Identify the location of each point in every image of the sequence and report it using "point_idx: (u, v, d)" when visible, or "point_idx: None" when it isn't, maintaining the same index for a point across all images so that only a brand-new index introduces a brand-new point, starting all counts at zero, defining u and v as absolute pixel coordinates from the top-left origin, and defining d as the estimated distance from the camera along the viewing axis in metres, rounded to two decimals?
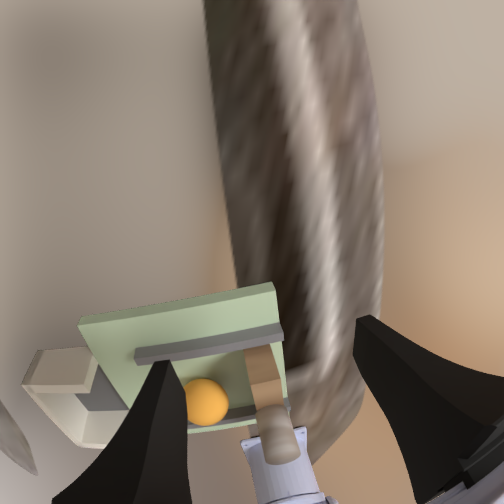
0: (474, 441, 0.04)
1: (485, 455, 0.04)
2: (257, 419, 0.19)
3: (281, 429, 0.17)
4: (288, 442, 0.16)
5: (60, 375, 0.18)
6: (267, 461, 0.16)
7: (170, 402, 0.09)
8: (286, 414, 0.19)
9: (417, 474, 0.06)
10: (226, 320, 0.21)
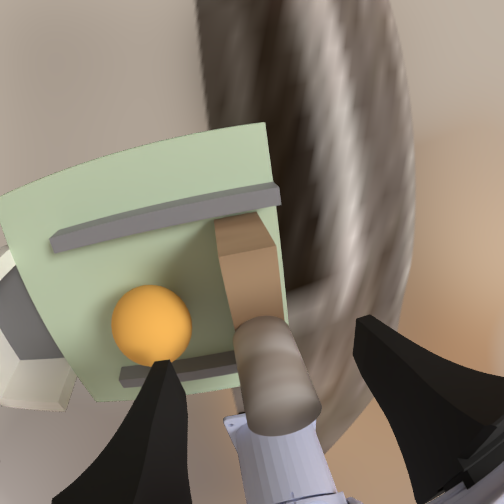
0: (475, 440, 0.04)
1: (485, 455, 0.04)
2: (235, 345, 0.11)
3: (280, 355, 0.09)
4: (295, 380, 0.08)
5: None
6: (252, 425, 0.08)
7: (170, 402, 0.09)
8: (289, 334, 0.11)
9: (417, 474, 0.06)
10: (189, 172, 0.13)
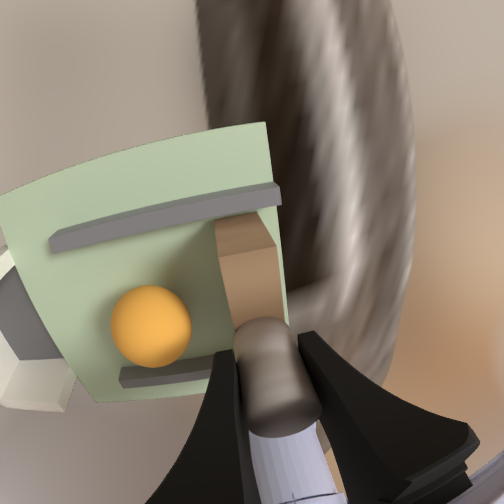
0: (390, 489, 0.04)
1: (415, 500, 0.04)
2: (235, 346, 0.11)
3: (280, 356, 0.09)
4: (296, 382, 0.08)
5: None
6: (252, 427, 0.08)
7: (238, 392, 0.09)
8: (290, 335, 0.11)
9: (353, 502, 0.06)
10: (188, 171, 0.13)
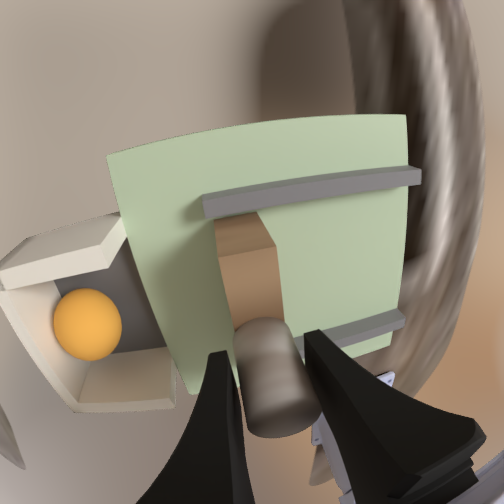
0: (400, 485, 0.04)
1: (423, 496, 0.04)
2: (235, 346, 0.11)
3: (280, 356, 0.09)
4: (296, 382, 0.08)
5: (57, 246, 0.11)
6: (251, 427, 0.08)
7: (232, 393, 0.09)
8: (289, 335, 0.11)
9: (360, 500, 0.06)
10: (349, 148, 0.13)
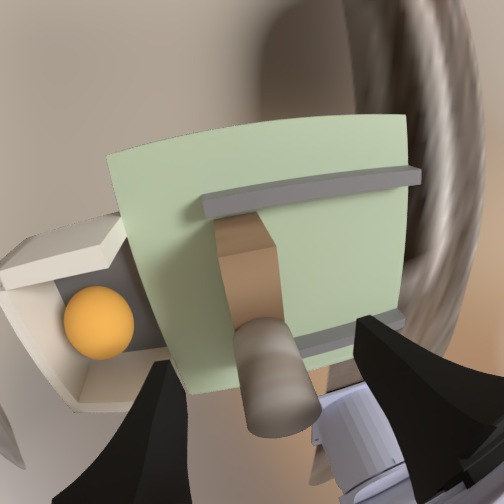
0: (475, 440, 0.04)
1: (485, 455, 0.04)
2: (235, 346, 0.11)
3: (280, 356, 0.09)
4: (296, 382, 0.08)
5: (57, 246, 0.11)
6: (251, 427, 0.08)
7: (170, 402, 0.09)
8: (289, 335, 0.11)
9: (417, 474, 0.06)
10: (349, 148, 0.13)
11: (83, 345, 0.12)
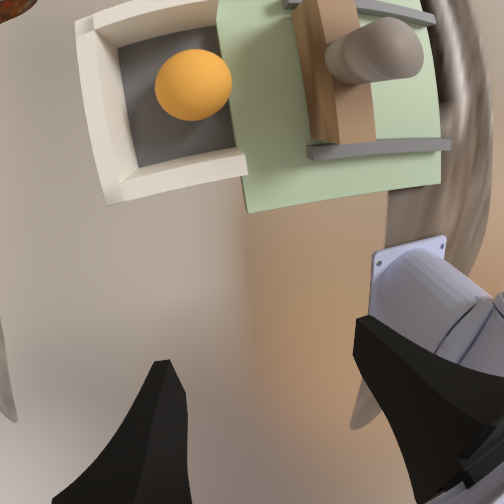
0: (474, 440, 0.04)
1: (485, 455, 0.04)
2: (330, 49, 0.10)
3: None
4: None
5: None
6: (373, 44, 0.07)
7: (170, 402, 0.09)
8: None
9: (418, 474, 0.06)
10: None
11: (208, 74, 0.12)
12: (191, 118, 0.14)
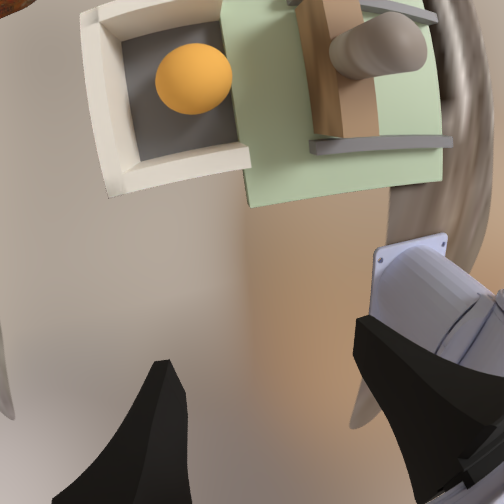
0: (475, 440, 0.04)
1: (485, 455, 0.04)
2: (335, 43, 0.10)
3: None
4: None
5: None
6: (378, 37, 0.07)
7: (170, 402, 0.09)
8: None
9: (417, 474, 0.06)
10: None
11: (205, 68, 0.12)
12: (190, 112, 0.13)
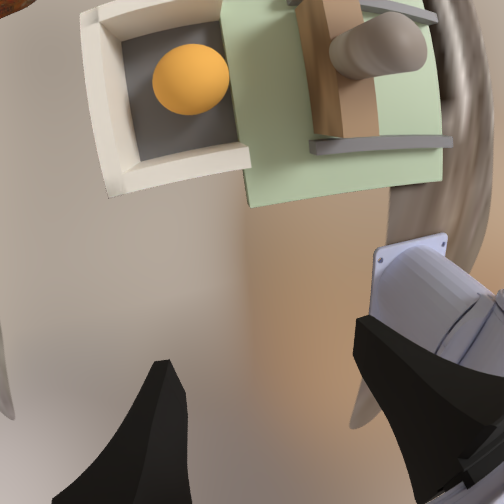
0: (475, 440, 0.04)
1: (485, 455, 0.04)
2: (335, 43, 0.10)
3: None
4: None
5: None
6: (378, 37, 0.07)
7: (170, 402, 0.09)
8: None
9: (417, 474, 0.06)
10: None
11: (199, 68, 0.11)
12: (186, 113, 0.13)
